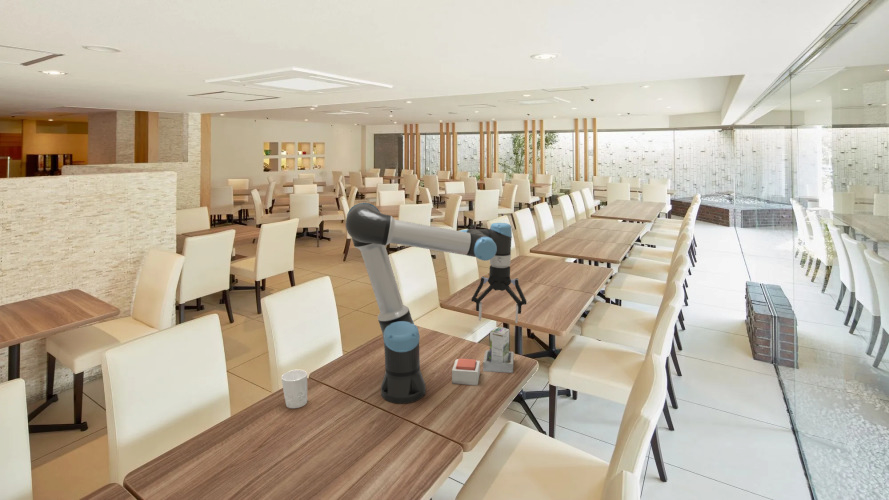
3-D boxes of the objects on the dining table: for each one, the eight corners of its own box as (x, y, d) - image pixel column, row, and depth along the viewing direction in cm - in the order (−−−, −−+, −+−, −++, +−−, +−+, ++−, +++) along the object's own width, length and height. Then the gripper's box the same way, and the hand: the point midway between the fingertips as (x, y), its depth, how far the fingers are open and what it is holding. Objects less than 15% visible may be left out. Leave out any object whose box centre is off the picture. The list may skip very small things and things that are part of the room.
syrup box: (495, 361, 179) (495, 325, 176) (509, 364, 176) (509, 328, 173) (488, 366, 174) (489, 330, 171) (503, 370, 171) (503, 333, 168)
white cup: (294, 395, 155) (292, 368, 153) (314, 399, 152) (311, 371, 150) (278, 407, 148) (276, 378, 146) (298, 411, 145) (296, 382, 143)
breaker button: (456, 379, 162) (456, 366, 161) (458, 371, 168) (458, 358, 167) (474, 380, 161) (474, 367, 160) (476, 372, 167) (476, 359, 166)
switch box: (452, 383, 161) (452, 370, 160) (455, 371, 170) (455, 359, 169) (477, 385, 160) (477, 372, 159) (479, 373, 169) (479, 360, 168)
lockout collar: (483, 371, 170) (483, 362, 170) (485, 358, 181) (485, 350, 180) (512, 373, 168) (513, 364, 168) (513, 360, 179) (513, 351, 178)
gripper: (464, 266, 165) (463, 321, 169) (534, 269, 161) (532, 326, 165) (467, 261, 172) (466, 315, 177) (534, 264, 168) (531, 319, 173)
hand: (498, 320), depth 171 cm, fingers open, 13 cm apart
